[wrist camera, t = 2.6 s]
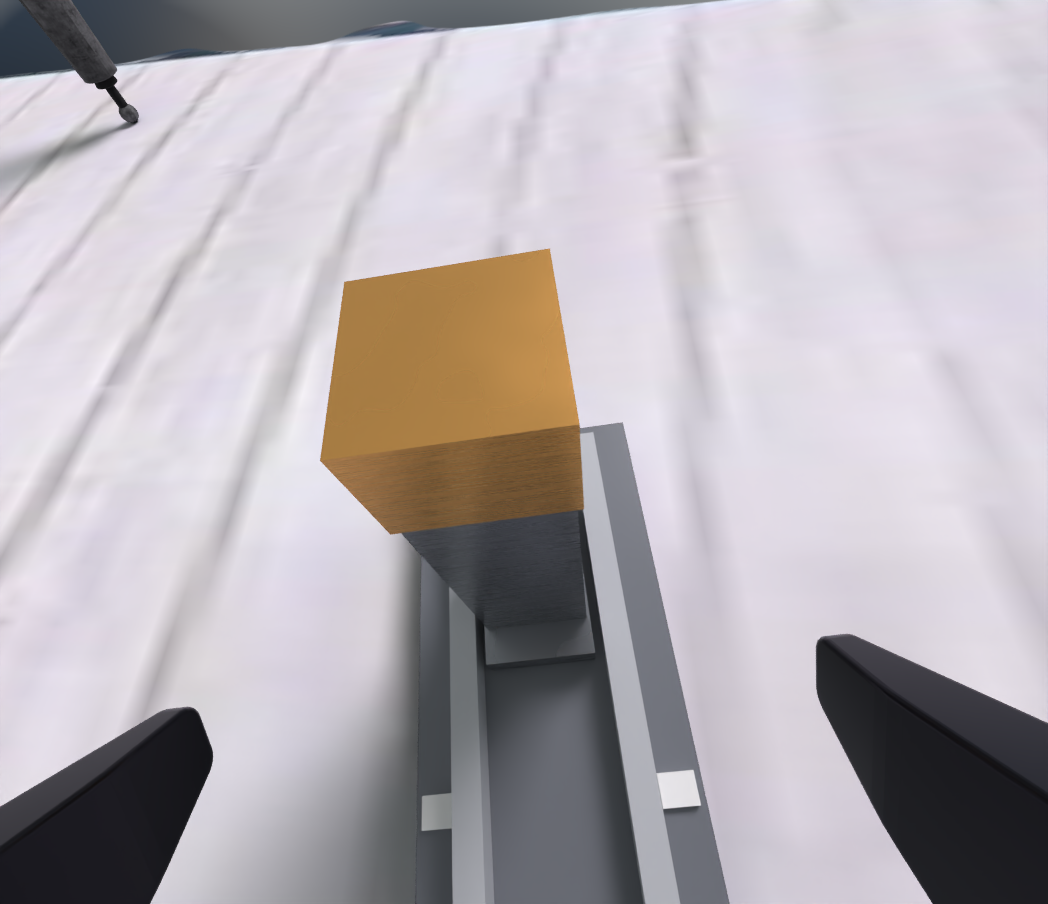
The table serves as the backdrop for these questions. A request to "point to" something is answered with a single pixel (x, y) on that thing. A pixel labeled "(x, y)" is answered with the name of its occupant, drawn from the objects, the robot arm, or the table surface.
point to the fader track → (564, 738)
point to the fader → (470, 442)
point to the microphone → (79, 47)
